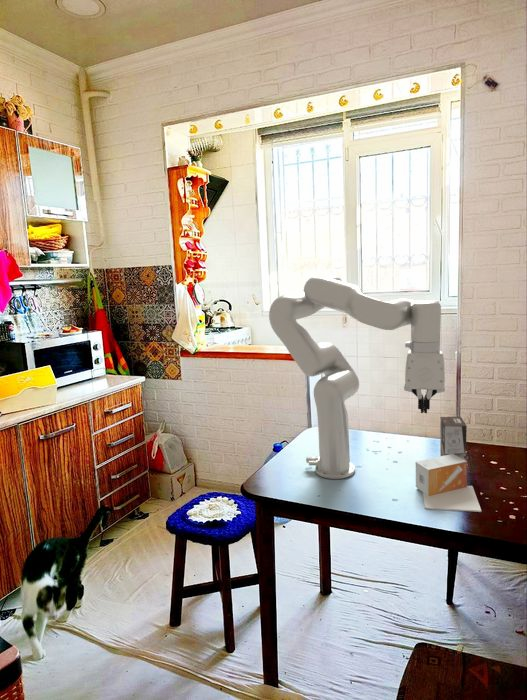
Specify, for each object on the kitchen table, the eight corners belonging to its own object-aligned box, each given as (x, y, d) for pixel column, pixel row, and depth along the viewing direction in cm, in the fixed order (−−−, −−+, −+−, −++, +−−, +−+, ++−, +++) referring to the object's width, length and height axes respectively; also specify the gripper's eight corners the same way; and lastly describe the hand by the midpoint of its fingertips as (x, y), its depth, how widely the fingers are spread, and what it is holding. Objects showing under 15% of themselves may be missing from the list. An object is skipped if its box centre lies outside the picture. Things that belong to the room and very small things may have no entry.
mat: (425, 508, 133) (425, 507, 133) (421, 484, 147) (421, 483, 146) (481, 512, 130) (481, 510, 130) (472, 487, 143) (472, 485, 143)
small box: (428, 470, 137) (467, 461, 141) (414, 461, 143) (453, 452, 147) (428, 497, 139) (467, 487, 142) (415, 487, 145) (452, 478, 148)
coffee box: (466, 477, 150) (467, 426, 146) (444, 476, 151) (444, 425, 148) (461, 464, 158) (461, 415, 155) (439, 463, 160) (439, 415, 157)
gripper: (396, 349, 133) (395, 414, 136) (456, 350, 129) (453, 417, 133) (396, 343, 140) (395, 406, 144) (453, 344, 136) (450, 408, 140)
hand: (423, 411), depth 138 cm, fingers closed
